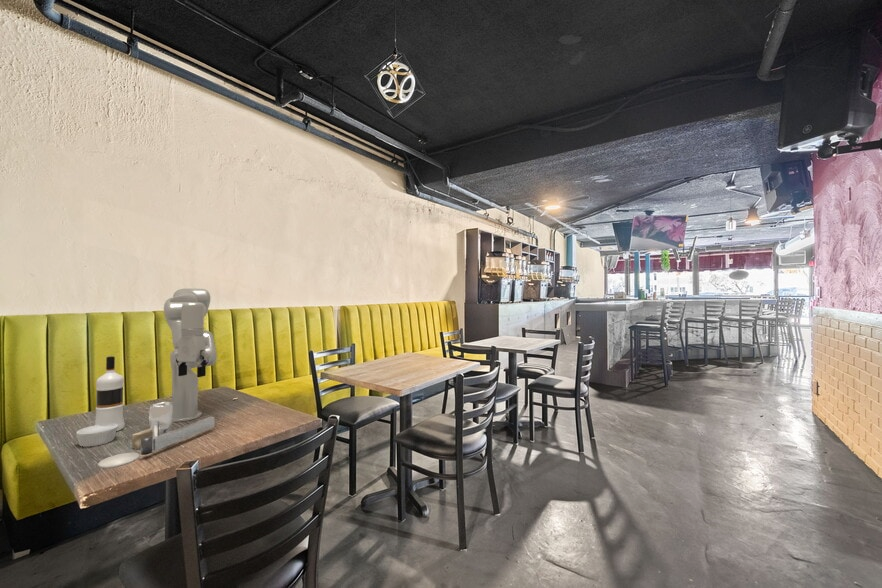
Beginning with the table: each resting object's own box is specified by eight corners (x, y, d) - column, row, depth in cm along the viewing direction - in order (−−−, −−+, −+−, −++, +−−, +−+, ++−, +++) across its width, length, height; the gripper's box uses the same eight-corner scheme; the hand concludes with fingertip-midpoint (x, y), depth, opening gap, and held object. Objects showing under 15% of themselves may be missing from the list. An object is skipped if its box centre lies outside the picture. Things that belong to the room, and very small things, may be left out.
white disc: (90, 465, 115) (90, 464, 115) (124, 453, 125) (124, 451, 125) (114, 469, 113) (114, 467, 113) (146, 456, 123) (146, 454, 123)
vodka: (87, 435, 140) (88, 358, 141) (103, 427, 149) (104, 355, 150) (116, 433, 143) (117, 357, 143) (129, 425, 152) (130, 354, 152)
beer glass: (157, 442, 134) (157, 401, 135) (177, 441, 135) (177, 401, 135) (143, 449, 127) (144, 407, 128) (164, 449, 128) (164, 406, 128)
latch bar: (138, 454, 120) (138, 439, 120) (209, 426, 147) (209, 414, 147) (145, 455, 119) (145, 440, 120) (215, 426, 146) (215, 414, 146)
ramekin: (124, 436, 141) (125, 422, 141) (103, 447, 130) (103, 432, 130) (91, 437, 139) (92, 424, 139) (67, 449, 128) (67, 434, 128)
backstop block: (132, 448, 129) (132, 434, 129) (157, 439, 137) (157, 425, 137) (138, 449, 128) (139, 435, 128) (163, 439, 137) (163, 426, 137)
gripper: (166, 333, 144) (166, 377, 143) (200, 334, 139) (199, 378, 138) (185, 332, 151) (184, 373, 150) (217, 332, 146) (217, 375, 145)
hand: (191, 376), depth 144 cm, fingers open, 9 cm apart
